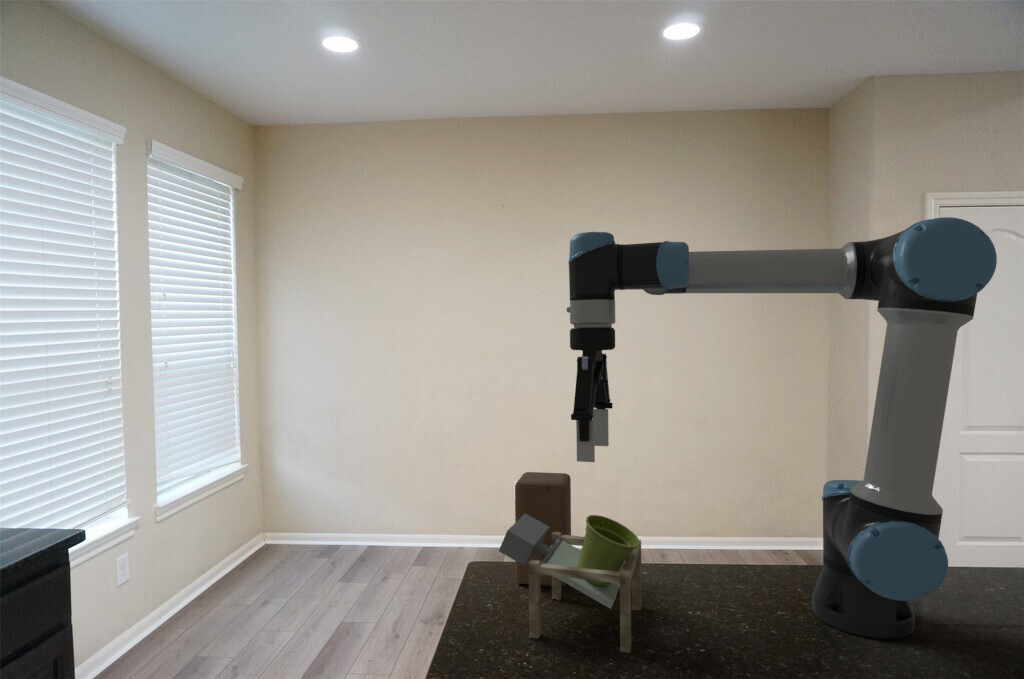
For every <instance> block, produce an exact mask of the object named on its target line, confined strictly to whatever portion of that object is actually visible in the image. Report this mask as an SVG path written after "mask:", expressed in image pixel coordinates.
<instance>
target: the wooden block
mask: <svg viewBox="0 0 1024 679" xmlns="http://www.w3.org/2000/svg"><path fill="white" fill-rule="evenodd" d="M571 479H572V478H571V476H570V475H569V474H568V473H563V472H562V473H561V472H542V471H541V472H540V471H539V472H537V471H536V472H535V471H526V472H524V473H523V474H521V476H520V478H519V479H518V480H517V481H516V482H515V485H514V512H515V513H514V516H515V517H514V518H515V519H514V520H515V522H514V524H515V523H516V522H517V521H518V520H519V519H520V518H521V517H522V516H523V515H524V514H527V515H529V516H531V517H533V518H535V519H536V520H538V521H540V522H542V523H544V524H545V525H547V526H549V528H548V531H547V533H546V535H545V537H544V540H543V542H542V543H543V544H545V545H547V546H549V547H550V546H551V534H552V533H553V532H561V534H562V535H572V504H571V503H572V498H571V497H572V496H571V495H572V494H571V491H572V490H571V485H572V484H571V483H572V482H571ZM543 556H544V554H542V553H540V552H538V551H536V553H535V554H534V555H533V556H532V558H531V559H530V560H529V561H528V563H527V564H526V565H525V566H523V565H522V564H520V563H518V562H517V561H515V580H516V582H517V583H518V584H520V585H522V584H523V585H529V562H530V561H531V560H539V561H540V560H541V558H542V557H543ZM566 585H567V584H566V583H565V582H563V581H562V586H563V587H566ZM540 586H545V587H546V586H547V587H552V576H550V575H542V576H541V578H540Z"/></svg>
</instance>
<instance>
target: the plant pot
mask: <svg viewBox="0 0 1024 679" xmlns="http://www.w3.org/2000/svg"><path fill="white" fill-rule="evenodd" d="M585 523H586V527H585V535H584V537H585V538H584V542H583V546H581V549H580V550H581V554H580V557H579V561H578V565H577V567H579V568H588V569H597V570H606V571H615V572H618V571H619V572H620V571H621V569H622V567H623V566H624V563H625V560H626V558H627V557H628V555H629V554H630V553H632V551H633V550H634V548H637V547H638V546H639V544H640V542H639V540H640V538H639V537H638V536H637V535H636V534H635V532H634V531H632V530H630V529H629V528H628V527H627V526H626V525H625V524H622V523H620V522H618V521H616V520H615V519H611V518H609V517H606V516H602V515H598V514H590V515H588V516H586V519H585ZM588 581H589V582H591V583H593V584H595V585H604V586H609V585H610V584H611V583H609V582H601V581H592V580H588Z"/></svg>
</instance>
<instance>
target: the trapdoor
mask: <svg viewBox="0 0 1024 679" xmlns="http://www.w3.org/2000/svg"><path fill="white" fill-rule="evenodd" d="M548 528H549V526H547V525H545V524H544V523H542V522H540V521H538V520H536V519H535V518H533V517H531V516H529V515H527V514H524V515H523V516H522V517H521V518H520V519H519V520H518V521H517V522H516V523H515V522H514V524H512V525H511V526H510V527H509V529H508V530H507V531H506V532H505V536H504V537H503V540H502V542H501V544H500V547H499V549H498V552H499V553H501V554H503V555H505V557H508V558H509V559H511V560H513V561H515V562H516V561H517V562H518V563H520V564H522V565H523V566H525V565H526V564H527V563H528V561H529V560H530V559H531V558H532V556H533V555H534V554H535V553H536V551H538V552H540V553H542V554H544V555H545V557H544V558H543V559H542V561H541V562H540V563H544V564H553V565H562V566H570V567H577V565H578V561H579V557H580V554H581V550H582V549H579V548H577V547H576V546H575V545H570V544H568V543H566V542H565V541H562V542H561V540H560V539H557V540H556V542H555V543H554V544H553V546H552V547H551V548H550V547H549V546H547V545H545V544H543V543H542V542H543V540H544V537H545V535H546V533H547V531H548ZM560 543H561V544H560ZM559 544H560V545H559ZM558 545H559V546H558ZM557 547H558V548H557ZM556 548H557V549H556ZM555 550H556V551H555ZM554 551H555V552H554ZM553 553H554V554H553ZM552 554H553V555H552ZM551 555H552V556H551ZM550 557H551V558H550ZM549 558H550V559H549ZM548 560H549V561H548ZM547 561H548V562H547ZM546 562H547V563H546ZM618 572H620V570H619V571H618ZM554 577H556V578H558V579H559V580H561V581H563V582H565V583H566V585H568V586H570V587H571V588H573V589H575V590H577V591H579V592H580V593H582V594H583V595H586V596H588V597H589V598H590V599H592V600H595V601H596V602H598V603H599V604H602V605H603V606H605V607H606V608H608V609H610V610H612V608H613V605H614V602H615V600H616V597H617V595H618V592H619V591H620V584H618V583H611V584H610V585H609V586H604V585H595V584H593V583H591V582H589V581H588V580H584V579H576V578H567V577H559V576H554Z"/></svg>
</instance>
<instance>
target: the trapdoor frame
mask: <svg viewBox="0 0 1024 679" xmlns="http://www.w3.org/2000/svg"><path fill="white" fill-rule="evenodd" d="M584 538H585V536H583V535H581V536H580V535H572V534H571V535H562V534H561V532H553V533H552V534H551V546H550V548H551V547H552V546H553V544H554V543H555V542H556V540H557V539H560V540H561V542H562V541H565V542H566V543H568V544H570V545H572V546H578V547H579V546H580V547H582V546H583V542H584ZM639 542H640V544H639V546H638V547H637V548H634V550H633V551H632V553H630V554H629V555H628V557H627V558H626V560H625V562H624V563H623V565H622V567H621V569H620V570H619V572H615V571H606V570H597V569H588V568H579V567H570V566H562V565H553V564H544V563H540V562H541V561H542V559H543V558H544V557H545V555H544V556H543V557H542V558H541V560H540V561H539V560H531V561H530V562H529V584H528V613H529V614H528V615H529V616H528V619H529V620H528V621H529V622H528V627H529V628H528V629H529V632H528V634H529V638H532V639H536V640H539V638H540V637H541V635H542V628H541V626H542V625H541V624H542V623H541V622H542V621H541V619H542V616H541V615H542V612H541V611H542V608H541V606H542V604H541V603H542V602H541V585H540V578H541V576H542V575H550V576H552V586H551V600H553V599H556V601H561V600H562V598H561V597H562V596H563V592H562V590H563V589H562V581H561V580H559V579H558V578H556V577H554V576H559V577H567V578H576V579H584V580H592V581H601V582H609V583H618V584H620V587H619V644H620V645H619V646H620V647H619V651H620V652H623V653H628V654H630V653H631V652H632V651H631V650H632V611H639V612H641V610H642V606H643V605H642V604H643V603H642V596H643V595H642V590H643V589H642V540H641V539H639ZM560 544H561V543H560ZM560 544H559V545H560ZM559 545H558V546H559ZM557 548H558V547H557ZM557 548H556V549H557ZM555 551H556V550H555ZM555 551H554V552H555ZM553 554H554V553H553ZM553 554H552V555H553ZM552 555H551V556H552ZM550 558H551V557H550ZM550 558H549V559H550ZM548 561H549V560H548ZM548 561H547V562H548ZM547 562H546V563H547Z"/></svg>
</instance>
